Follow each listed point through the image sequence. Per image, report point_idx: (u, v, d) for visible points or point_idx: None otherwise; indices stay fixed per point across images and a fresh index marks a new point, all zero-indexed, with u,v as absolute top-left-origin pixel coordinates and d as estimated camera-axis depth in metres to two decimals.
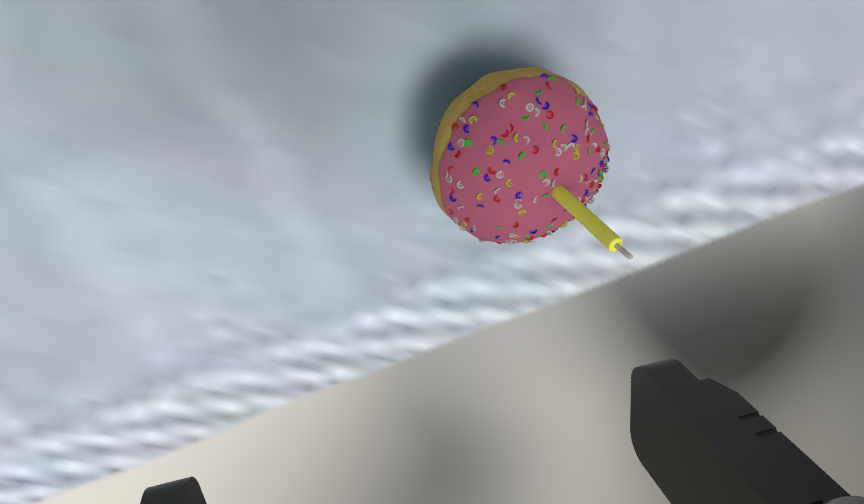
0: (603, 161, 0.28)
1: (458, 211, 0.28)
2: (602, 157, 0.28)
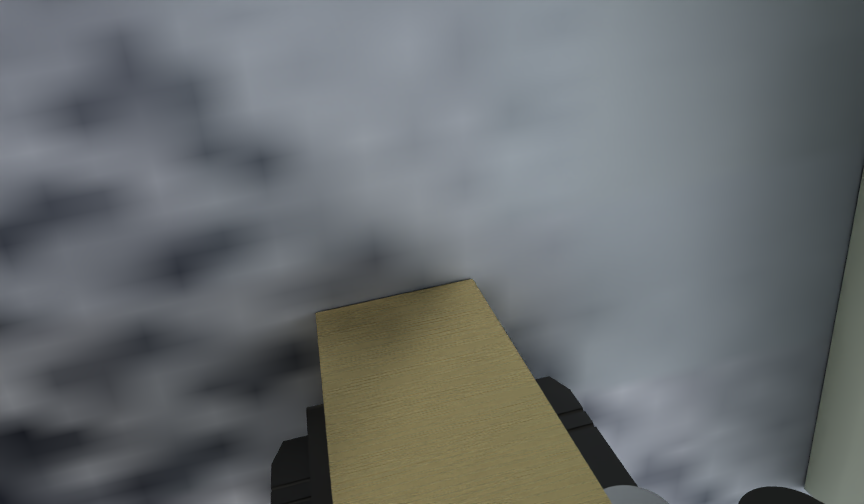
0: None
1: None
2: None
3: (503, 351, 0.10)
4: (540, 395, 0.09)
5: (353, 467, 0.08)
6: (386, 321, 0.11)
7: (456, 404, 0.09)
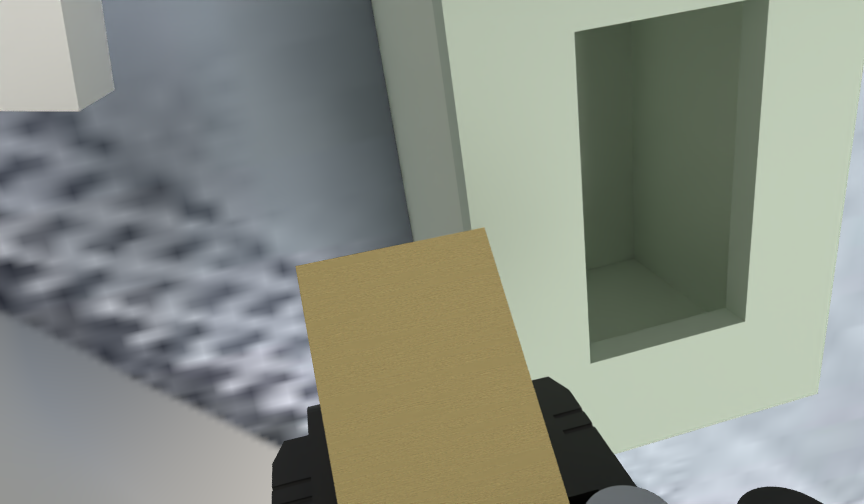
0: None
1: None
2: None
3: (518, 383, 0.09)
4: (553, 462, 0.08)
5: None
6: (385, 301, 0.09)
7: (469, 465, 0.08)
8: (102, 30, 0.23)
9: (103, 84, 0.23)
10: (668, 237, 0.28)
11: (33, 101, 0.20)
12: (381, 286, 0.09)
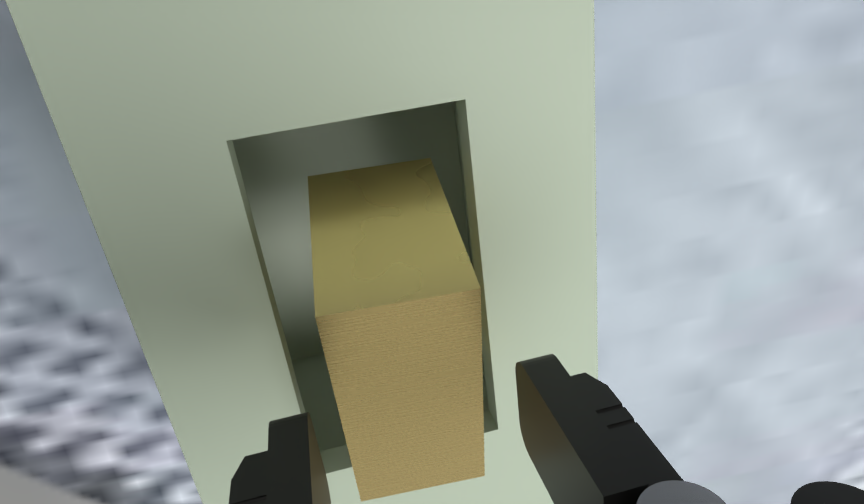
0: None
1: None
2: None
3: (473, 380, 0.13)
4: (481, 414, 0.13)
5: (363, 451, 0.13)
6: (387, 338, 0.12)
7: (429, 418, 0.13)
8: None
9: None
10: None
11: None
12: (386, 330, 0.11)
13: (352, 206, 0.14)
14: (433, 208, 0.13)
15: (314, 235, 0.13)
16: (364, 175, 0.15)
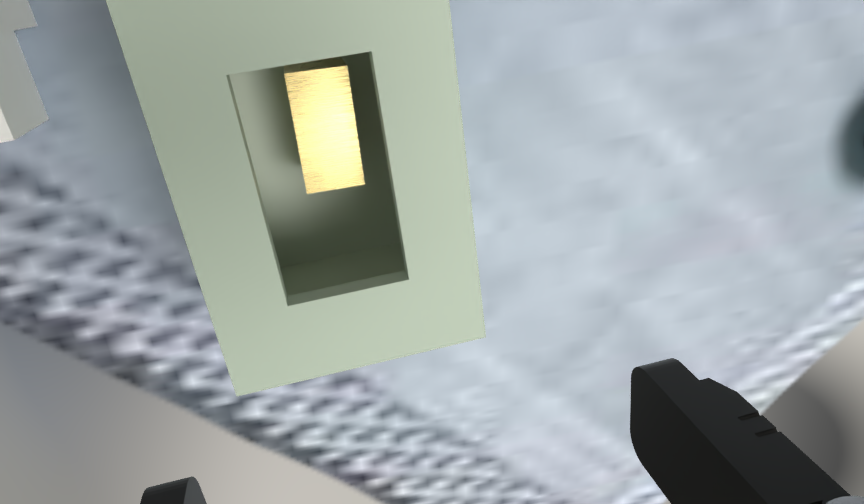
0: None
1: None
2: None
3: (351, 117, 0.30)
4: (357, 140, 0.31)
5: (306, 157, 0.31)
6: (312, 88, 0.30)
7: (334, 139, 0.31)
8: (28, 78, 0.32)
9: (36, 117, 0.32)
10: None
11: None
12: (311, 83, 0.29)
13: None
14: (335, 59, 0.32)
15: (285, 66, 0.31)
16: None
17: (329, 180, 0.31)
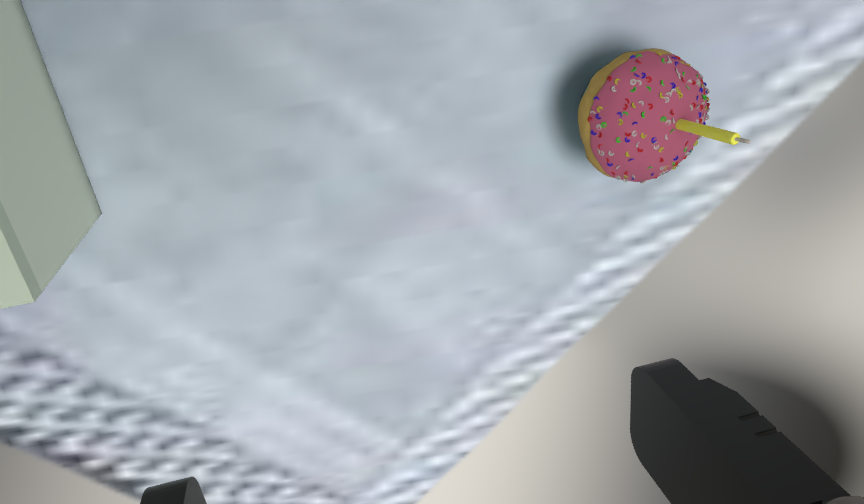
0: (701, 87, 0.39)
1: (617, 170, 0.40)
2: (699, 85, 0.38)
3: None
4: None
5: None
6: None
7: None
8: None
9: None
10: None
11: None
12: None
13: None
14: None
15: None
16: None
17: None
